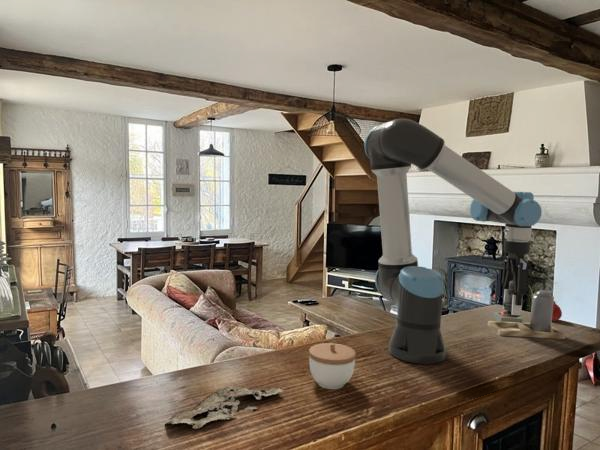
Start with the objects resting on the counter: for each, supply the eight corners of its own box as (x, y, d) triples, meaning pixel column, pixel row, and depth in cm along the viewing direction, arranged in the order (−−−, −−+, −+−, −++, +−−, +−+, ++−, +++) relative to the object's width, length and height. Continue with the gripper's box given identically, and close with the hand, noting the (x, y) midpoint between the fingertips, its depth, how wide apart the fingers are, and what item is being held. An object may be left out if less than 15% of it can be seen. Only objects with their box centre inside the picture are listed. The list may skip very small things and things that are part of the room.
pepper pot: (534, 335, 142) (538, 292, 141) (526, 329, 148) (529, 287, 147) (554, 336, 142) (558, 293, 141) (544, 330, 148) (548, 288, 147)
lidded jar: (325, 398, 97) (327, 356, 96) (298, 379, 106) (300, 340, 105) (363, 388, 103) (366, 347, 102) (335, 370, 112) (337, 333, 111)
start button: (503, 322, 155) (503, 314, 155) (498, 319, 159) (499, 310, 159) (516, 323, 155) (517, 315, 154) (511, 319, 159) (511, 311, 159)
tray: (498, 338, 141) (499, 330, 141) (487, 328, 151) (487, 320, 151) (564, 341, 140) (565, 333, 140) (548, 331, 150) (549, 324, 150)
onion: (539, 322, 160) (541, 300, 160) (545, 319, 164) (547, 297, 163) (557, 326, 156) (559, 303, 155) (563, 323, 160) (565, 301, 159)
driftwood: (255, 370, 104) (262, 356, 101) (284, 406, 99) (292, 392, 96) (156, 422, 85) (162, 406, 82) (185, 469, 80) (193, 454, 78)
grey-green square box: (500, 326, 154) (501, 317, 153) (493, 320, 161) (493, 311, 160) (521, 327, 153) (522, 318, 153) (513, 321, 160) (513, 312, 160)
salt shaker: (516, 312, 148) (519, 276, 147) (525, 317, 142) (528, 280, 141) (498, 311, 148) (501, 275, 147) (506, 316, 142) (509, 279, 141)
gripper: (494, 236, 152) (489, 303, 155) (517, 243, 134) (511, 320, 136) (516, 237, 152) (511, 304, 154) (543, 244, 133) (537, 321, 135)
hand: (511, 311), depth 145 cm, fingers closed on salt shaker, 6 cm apart
